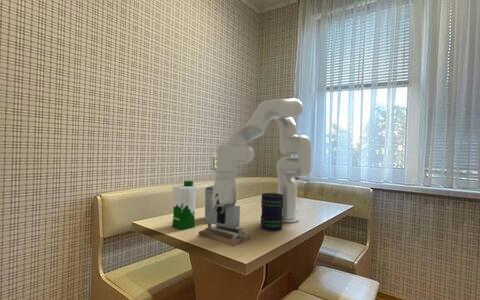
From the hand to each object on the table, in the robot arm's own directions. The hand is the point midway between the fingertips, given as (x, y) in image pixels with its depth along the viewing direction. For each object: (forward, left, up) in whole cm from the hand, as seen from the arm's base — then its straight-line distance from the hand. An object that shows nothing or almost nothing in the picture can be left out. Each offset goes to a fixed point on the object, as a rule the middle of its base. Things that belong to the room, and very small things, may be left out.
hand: (224, 221), depth 105 cm
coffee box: (-17, -20, -6) cm, 27 cm away
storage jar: (-23, +9, -6) cm, 26 cm away
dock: (0, 0, -6) cm, 6 cm away
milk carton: (+1, -22, -6) cm, 23 cm away
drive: (0, 0, -1) cm, 1 cm away
